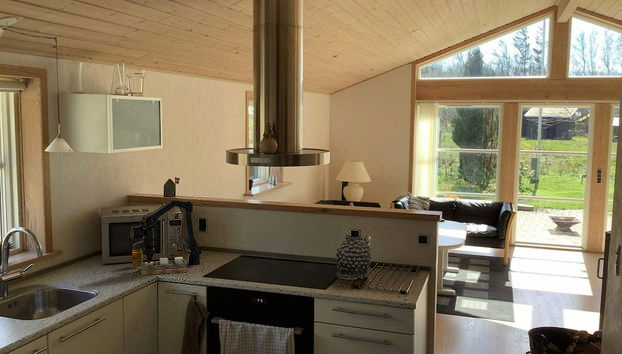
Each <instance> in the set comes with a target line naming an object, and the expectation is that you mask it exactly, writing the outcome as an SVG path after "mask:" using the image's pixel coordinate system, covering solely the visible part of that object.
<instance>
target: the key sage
mask: <svg viewBox="0 0 622 354" xmlns="http://www.w3.org/2000/svg"><path fill="white" fill-rule="evenodd" d="M183 260H184V257H183V256H177V257H174V261H175V264H178V263H183Z"/></svg>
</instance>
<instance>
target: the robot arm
mask: <svg viewBox="0 0 622 354" xmlns="http://www.w3.org/2000/svg"><path fill="white" fill-rule="evenodd" d="M193 206H194V204H193V202H191V201H190V200H185V199H183V200H177V199H174V198H171V199H170V200H169V201H167V202H166V203H164V204H163V205H161V206H160V207H158V208H157V209H156V210H154V211H151V212H149V213H146V214H144V215H142V217H141V221H140V222H139V223H138V225H137V226H131V227H130V230H129V237H130V239H131V240H133V239H134V240H135V239H142V240H140V241H137V242H134V243H133V247H134V248H135V250H138V249H140V248H142V252H143V255H145V256H146V260H147V262H148V263H150V262H152V259H153V257H154V255H155V254H156V250H155V237H154V234H155V232H154V229H155V230H156V229H158V226H156V225H155V224H156V223H157V222H158V221H159V219H160V218H161V217H162V216H164V215H166V214H167V212H169V211H170V210H172V209H173V208H175V207H176V208H177V207H178V208H179V210H180V213H181V214H182V216H183V217H182V218H183V223H184V232H185V240H183V242H182V243H183V248H184V249H185V250H186V252H187V254H188V255H187V264H189V265H190V266H193V265H201V255H202V253H203V251H202V249H201V248H200V247H199V245H198V242H197V239H196V238H195V234H194V227H193V226H194V225H193V219H192V214H193V211H194V208H193Z"/></svg>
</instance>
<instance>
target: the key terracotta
mask: <svg viewBox="0 0 622 354" xmlns="http://www.w3.org/2000/svg"><path fill="white" fill-rule="evenodd" d="M153 262H154V261H151V262H150V263H148V261H146V262H144V263H145V266H147V265H153Z"/></svg>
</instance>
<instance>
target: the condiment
mask: <svg viewBox="0 0 622 354" xmlns="http://www.w3.org/2000/svg"><path fill="white" fill-rule="evenodd" d="M143 256H144V252H143V247H142V248H140V249H138V250H135V248H134V246H133V247H132V253H131V261H132V262H131V264H132V265H131V266H130V268H132V269H141V263H144V260H143V259H144V257H143Z"/></svg>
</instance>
